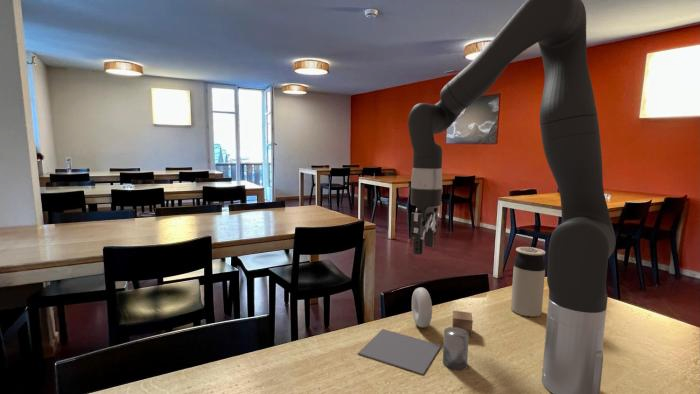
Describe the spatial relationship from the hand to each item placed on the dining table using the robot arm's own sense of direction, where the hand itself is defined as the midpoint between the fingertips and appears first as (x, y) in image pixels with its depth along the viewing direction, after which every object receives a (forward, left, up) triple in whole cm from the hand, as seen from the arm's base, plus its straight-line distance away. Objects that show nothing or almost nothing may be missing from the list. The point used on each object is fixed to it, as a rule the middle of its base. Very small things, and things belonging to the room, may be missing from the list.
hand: (423, 250), depth 93 cm
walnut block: (-10, -2, -20) cm, 23 cm away
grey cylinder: (-12, +13, -20) cm, 27 cm away
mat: (0, +14, -20) cm, 24 cm away
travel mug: (-23, -24, -20) cm, 39 cm away
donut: (0, 0, -20) cm, 20 cm away
